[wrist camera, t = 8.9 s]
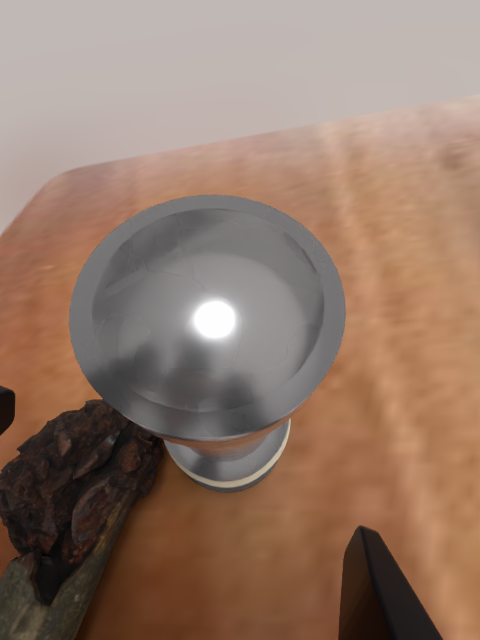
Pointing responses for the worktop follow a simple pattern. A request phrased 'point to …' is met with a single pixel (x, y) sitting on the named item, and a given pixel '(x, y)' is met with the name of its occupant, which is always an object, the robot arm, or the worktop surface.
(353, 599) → the robot arm
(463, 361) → the worktop surface
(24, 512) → the brown and green club
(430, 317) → the worktop surface
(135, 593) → the worktop surface
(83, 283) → the metal knob
